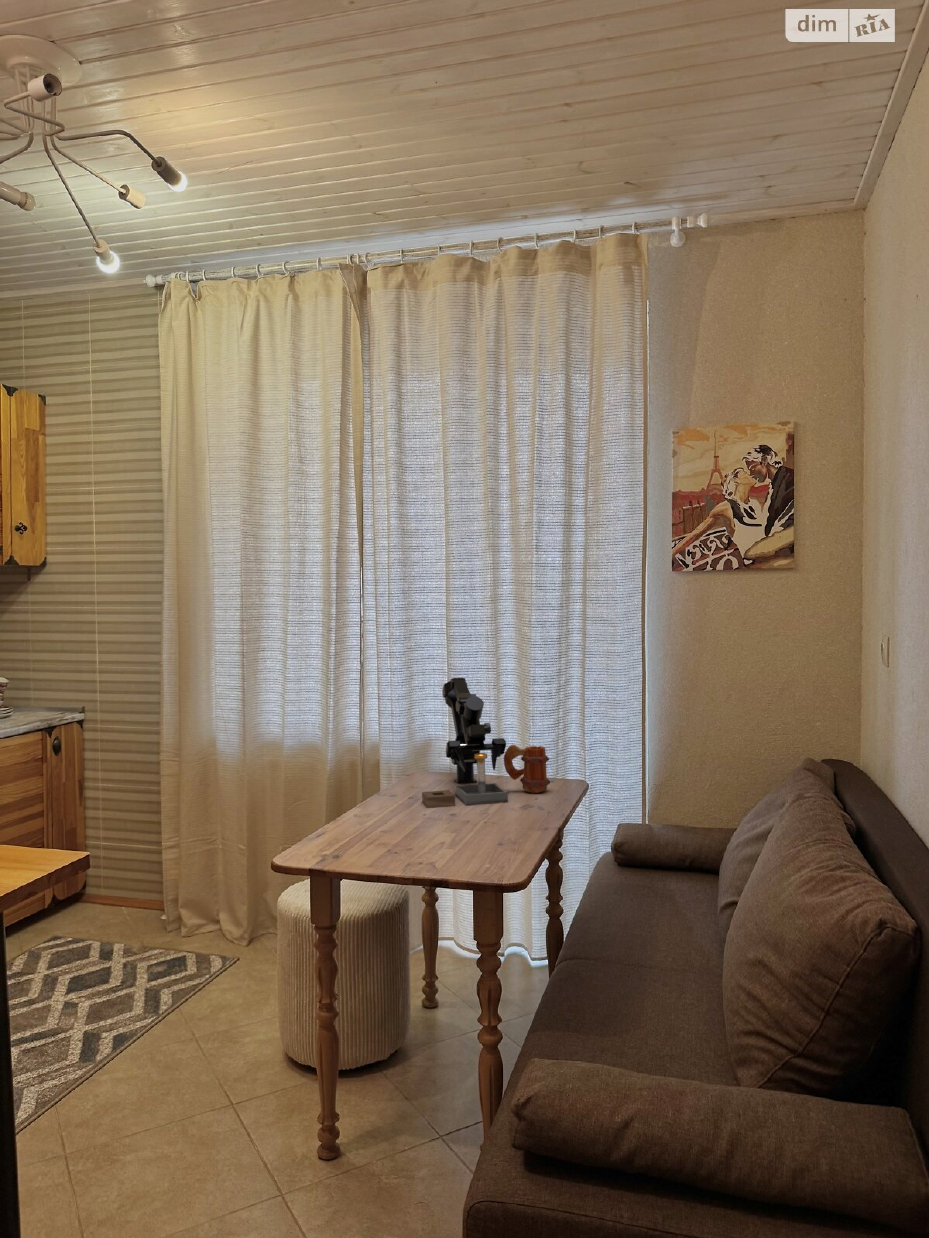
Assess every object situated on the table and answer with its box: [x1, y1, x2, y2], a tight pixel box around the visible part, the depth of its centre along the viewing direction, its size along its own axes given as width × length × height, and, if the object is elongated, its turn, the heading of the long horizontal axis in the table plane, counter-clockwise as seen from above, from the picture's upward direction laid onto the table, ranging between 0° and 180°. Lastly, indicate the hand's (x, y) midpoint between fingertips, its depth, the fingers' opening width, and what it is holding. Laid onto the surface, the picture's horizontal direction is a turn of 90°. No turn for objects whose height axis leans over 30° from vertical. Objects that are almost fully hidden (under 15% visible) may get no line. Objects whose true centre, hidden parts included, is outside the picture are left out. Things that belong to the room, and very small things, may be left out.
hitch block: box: [421, 789, 456, 809], centre depth 277 cm, size 8×8×3 cm
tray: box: [455, 783, 509, 806], centre depth 282 cm, size 14×13×3 cm
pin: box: [474, 752, 488, 794], centre depth 281 cm, size 4×4×13 cm
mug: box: [503, 744, 551, 794], centre depth 290 cm, size 15×8×15 cm, turn 84°
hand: (479, 770), depth 283 cm, fingers open, 9 cm apart
